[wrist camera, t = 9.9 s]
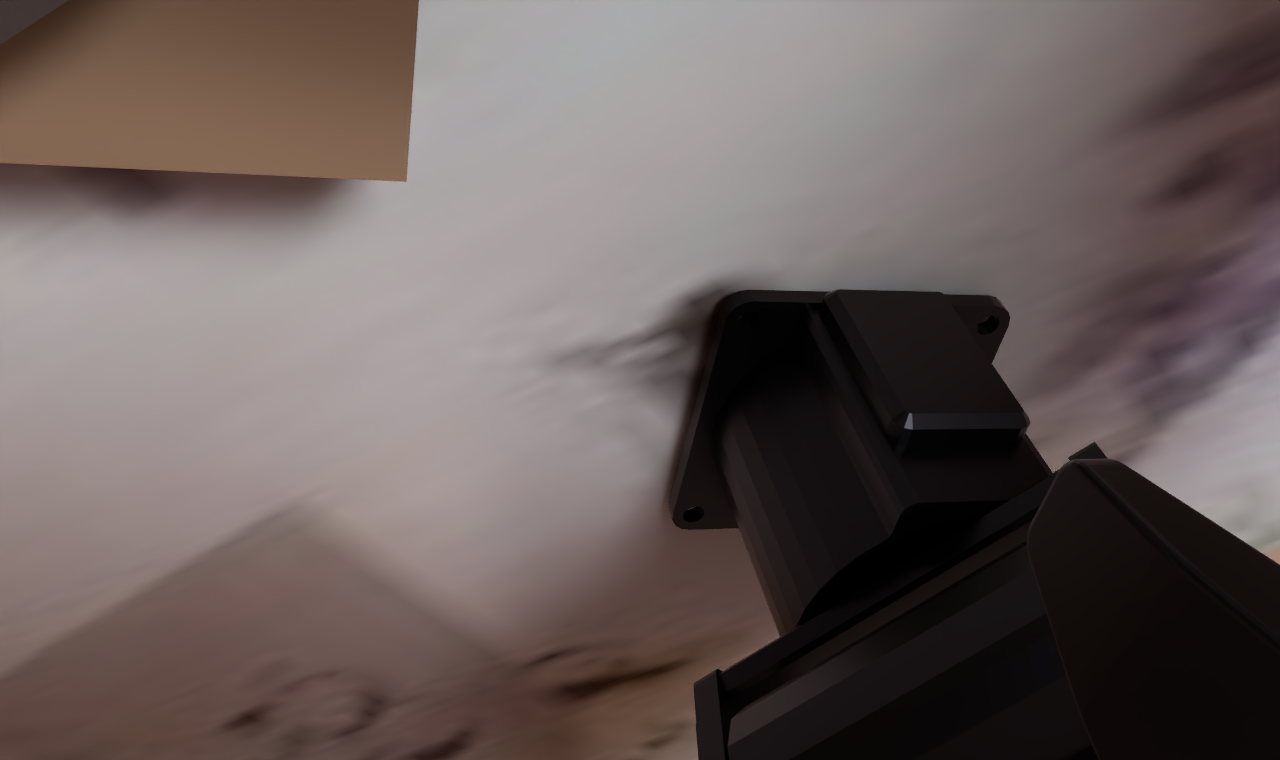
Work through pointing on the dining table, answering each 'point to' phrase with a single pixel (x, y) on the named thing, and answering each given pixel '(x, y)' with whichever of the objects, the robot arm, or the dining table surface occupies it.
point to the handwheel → (23, 14)
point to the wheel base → (214, 87)
